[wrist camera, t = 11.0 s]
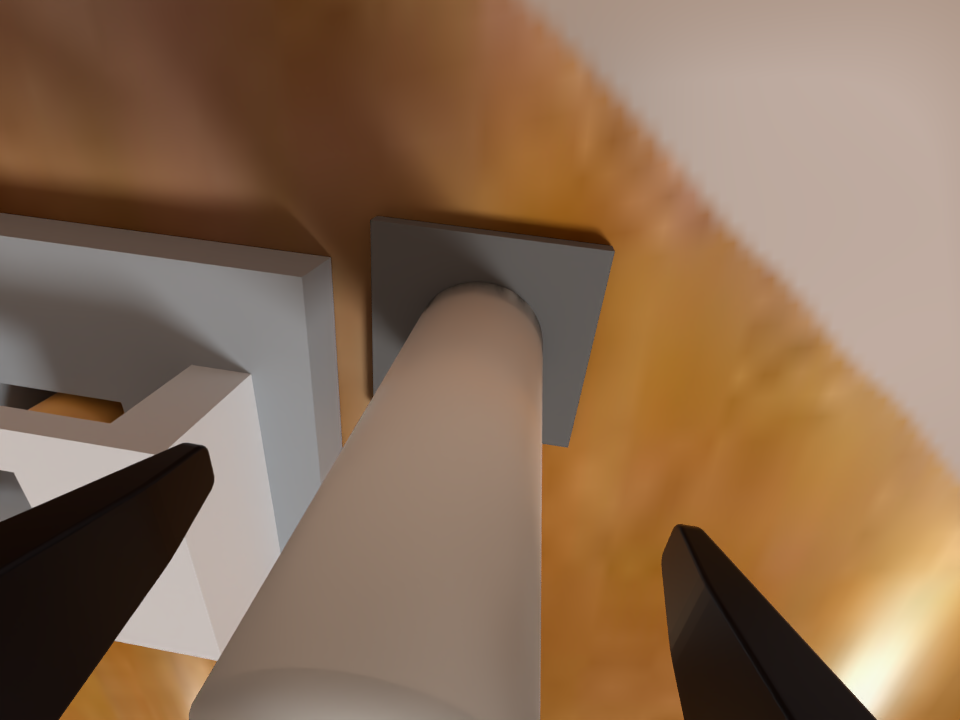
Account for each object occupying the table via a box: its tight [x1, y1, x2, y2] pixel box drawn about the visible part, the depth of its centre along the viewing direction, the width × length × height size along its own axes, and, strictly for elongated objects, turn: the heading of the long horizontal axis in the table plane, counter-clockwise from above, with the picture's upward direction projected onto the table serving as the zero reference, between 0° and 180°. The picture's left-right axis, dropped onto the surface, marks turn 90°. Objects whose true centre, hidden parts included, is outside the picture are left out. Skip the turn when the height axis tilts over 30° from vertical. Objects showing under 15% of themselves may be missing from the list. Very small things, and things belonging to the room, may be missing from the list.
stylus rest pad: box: [370, 216, 615, 447], centre depth 15 cm, size 7×7×1 cm
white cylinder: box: [189, 281, 543, 720], centre depth 10 cm, size 4×4×11 cm
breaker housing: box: [0, 213, 342, 661], centre depth 17 cm, size 16×19×6 cm
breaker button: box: [28, 392, 124, 423], centre depth 18 cm, size 4×4×2 cm
